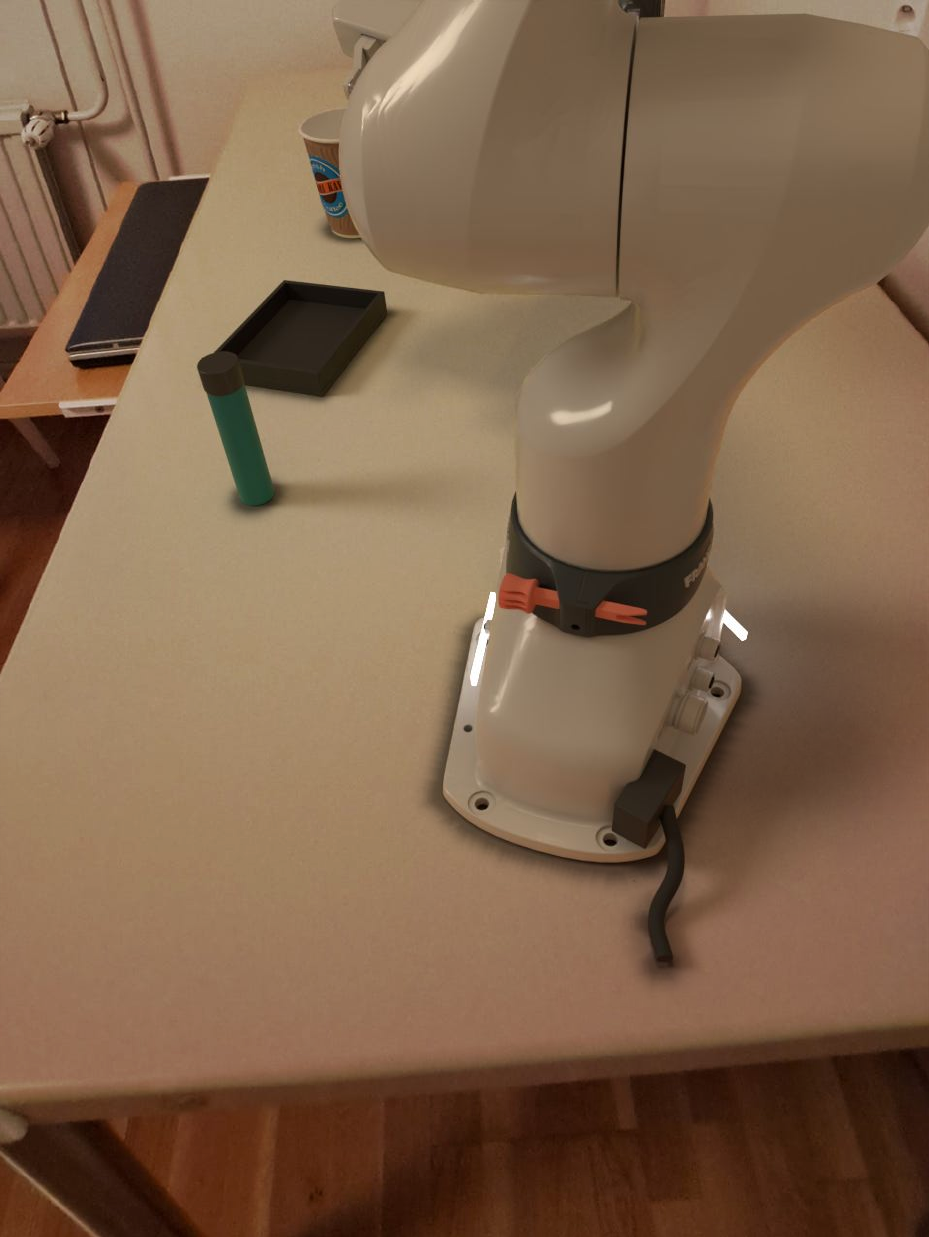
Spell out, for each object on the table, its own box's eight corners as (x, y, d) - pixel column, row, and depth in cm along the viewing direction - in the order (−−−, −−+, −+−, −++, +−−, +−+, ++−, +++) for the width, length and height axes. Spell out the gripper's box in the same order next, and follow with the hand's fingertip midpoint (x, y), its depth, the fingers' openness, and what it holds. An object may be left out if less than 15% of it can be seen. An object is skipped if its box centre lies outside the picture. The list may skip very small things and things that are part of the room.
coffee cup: (301, 230, 116) (280, 127, 107) (363, 200, 121) (348, 99, 112) (354, 253, 111) (337, 147, 102) (418, 221, 115) (406, 117, 107)
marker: (264, 509, 79) (225, 376, 70) (232, 503, 80) (188, 370, 71) (282, 486, 81) (246, 353, 72) (250, 480, 82) (210, 348, 73)
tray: (322, 396, 91) (317, 373, 89) (215, 380, 94) (208, 357, 92) (387, 313, 101) (384, 291, 99) (288, 301, 104) (283, 279, 102)
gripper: (378, -86, 73) (280, 41, 71) (609, -29, 67) (510, 114, 64) (398, -10, 79) (308, 110, 77) (613, 50, 72) (522, 184, 70)
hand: (402, 113), depth 70 cm, fingers open, 8 cm apart
